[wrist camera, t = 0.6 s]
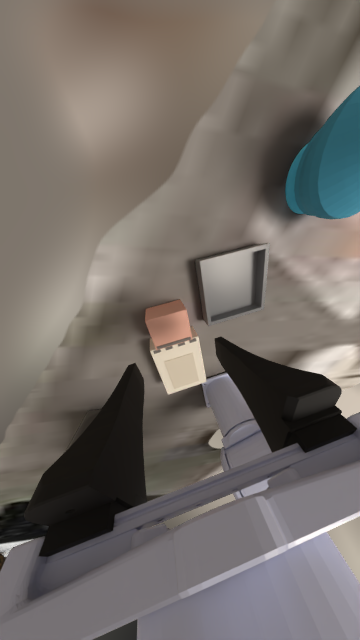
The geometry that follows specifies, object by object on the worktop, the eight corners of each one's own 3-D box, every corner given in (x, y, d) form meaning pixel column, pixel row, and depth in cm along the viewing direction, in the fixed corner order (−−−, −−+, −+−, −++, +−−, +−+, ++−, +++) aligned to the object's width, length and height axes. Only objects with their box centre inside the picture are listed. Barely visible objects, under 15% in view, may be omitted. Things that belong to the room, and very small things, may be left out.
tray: (255, 304, 23) (263, 309, 21) (203, 320, 22) (208, 325, 20) (258, 243, 18) (269, 243, 17) (194, 260, 18) (199, 261, 16)
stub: (185, 325, 22) (192, 339, 18) (155, 334, 21) (156, 350, 18) (179, 299, 20) (186, 309, 16) (145, 308, 19) (145, 321, 16)
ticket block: (200, 368, 27) (206, 382, 24) (166, 380, 26) (168, 395, 23) (192, 326, 22) (198, 336, 19) (149, 338, 21) (149, 351, 19)
